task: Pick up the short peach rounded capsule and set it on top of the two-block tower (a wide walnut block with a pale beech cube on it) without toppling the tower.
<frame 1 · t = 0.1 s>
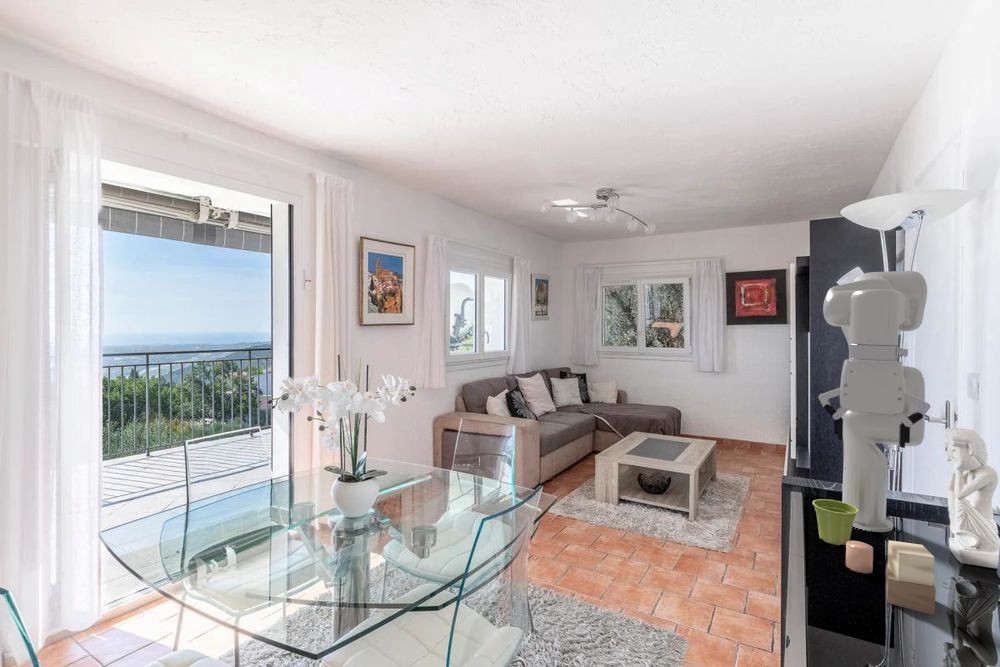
hand: (870, 442, 98), 31 cm above the table, tool pointing down, fingers open, 9 cm apart
beech block: (909, 576, 99), point 5 cm above the table, touching walnut block
plant pot: (833, 541, 125), on the table
peach rounded capsule: (858, 567, 112), on the table
walnut block: (909, 601, 99), on the table, touching beech block
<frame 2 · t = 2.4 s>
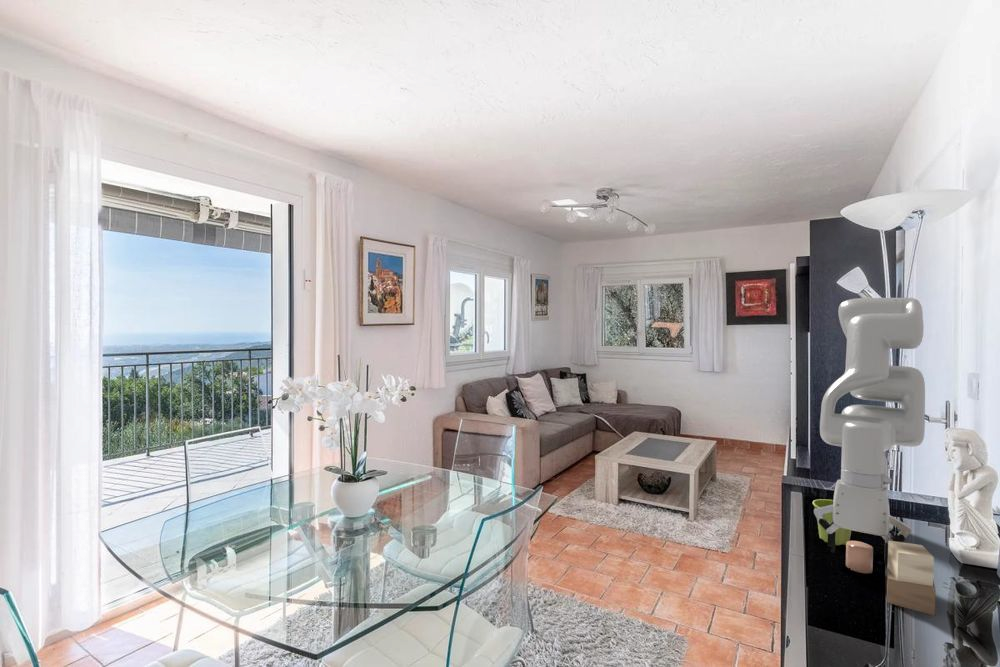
hand: (859, 556, 111), 3 cm above the table, tool pointing down, fingers open, 9 cm apart
nothing on the table moved.
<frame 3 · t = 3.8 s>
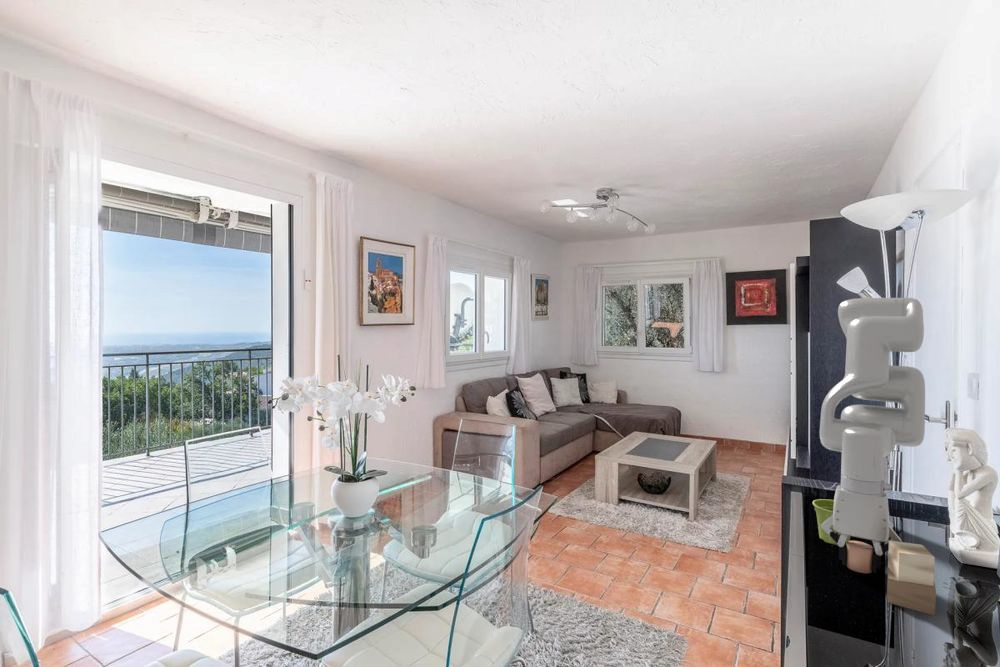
hand: (858, 565, 112), 0 cm above the table, tool pointing down, fingers closed on peach rounded capsule, 4 cm apart
peach rounded capsule: (858, 567, 112), on the table, touching gripper
everything else where it was.
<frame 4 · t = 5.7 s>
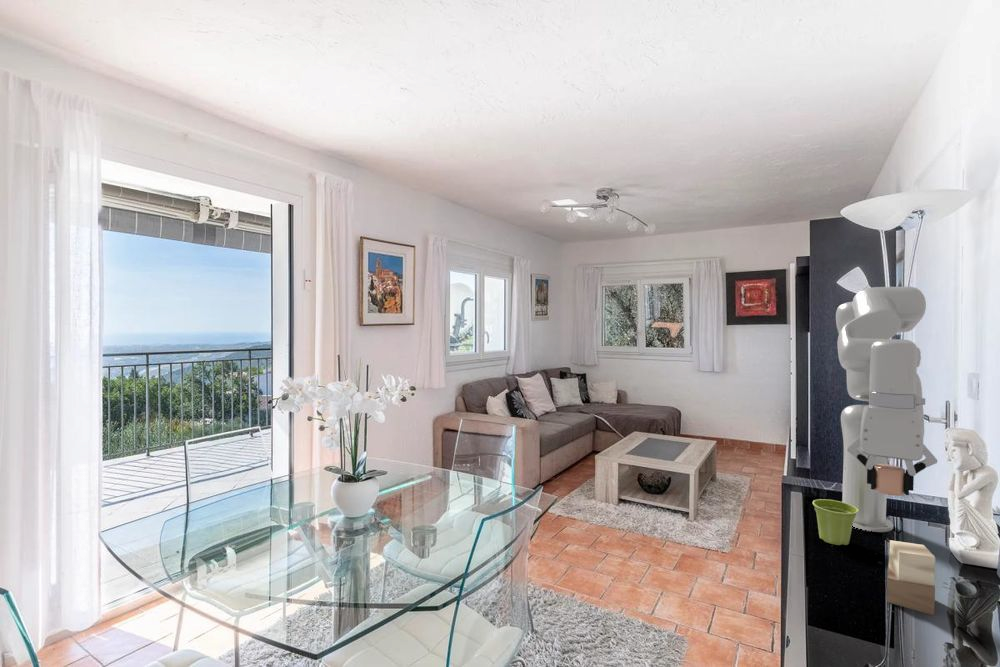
hand: (889, 489, 103), 20 cm above the table, tool pointing down, fingers closed on peach rounded capsule, 4 cm apart
peach rounded capsule: (889, 491, 103), point 20 cm above the table, touching gripper
everything else where it was.
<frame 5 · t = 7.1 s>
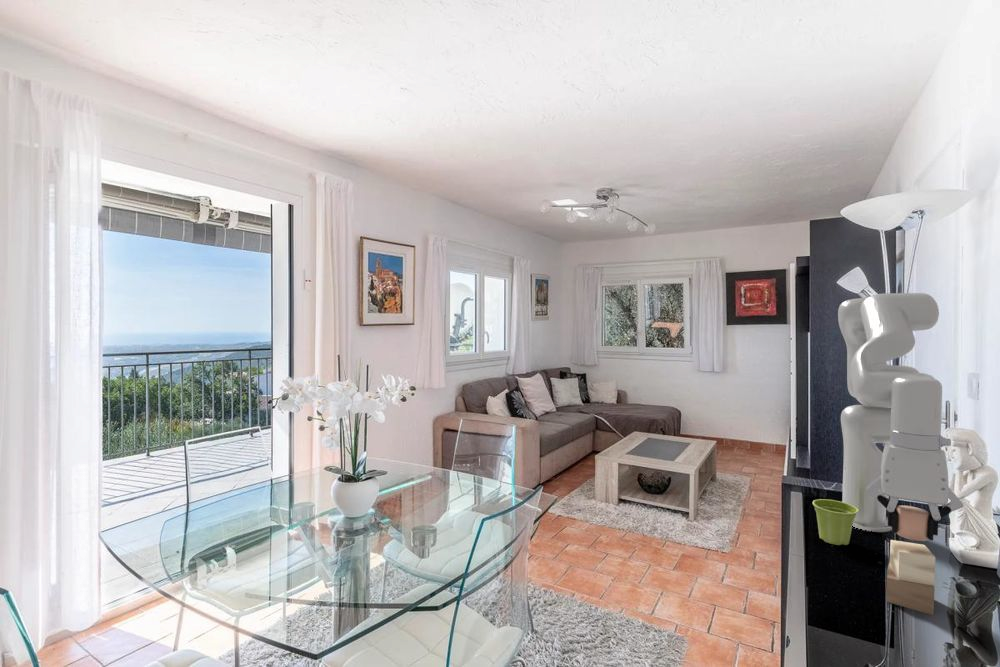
hand: (911, 533, 98), 13 cm above the table, tool pointing down, fingers closed on peach rounded capsule, 4 cm apart
beech block: (911, 575, 99), point 5 cm above the table
peach rounded capsule: (911, 535, 98), point 13 cm above the table, touching gripper
walnut block: (909, 600, 99), on the table
everything else where it was.
when the fingers open (12 cm above the table, at t = 8.1 s): peach rounded capsule drops 1 cm, resting on beech block.
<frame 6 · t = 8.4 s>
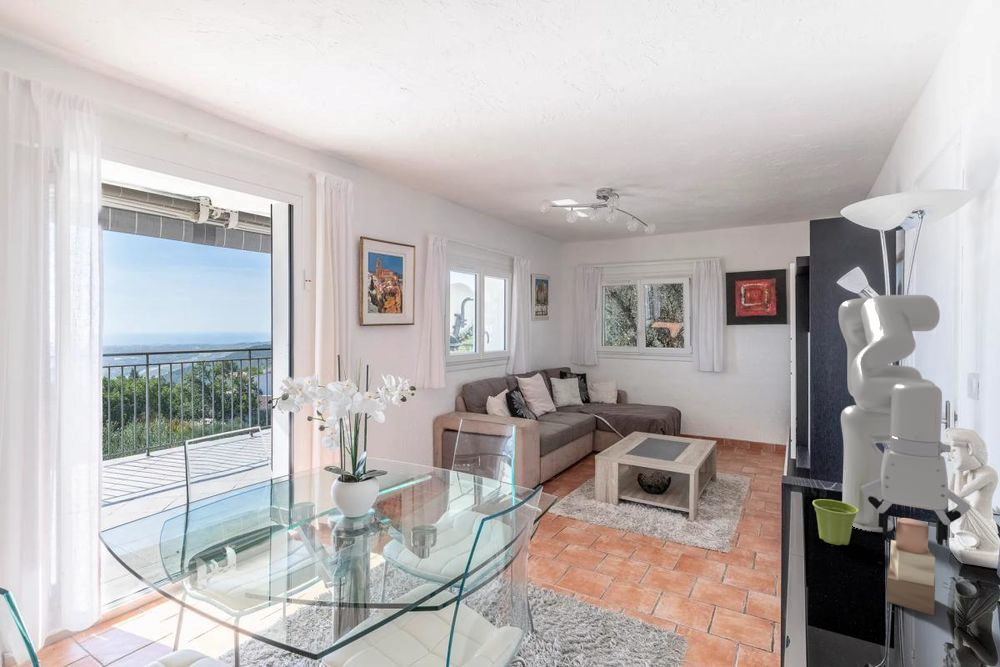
hand: (911, 536, 98), 13 cm above the table, tool pointing down, fingers open, 7 cm apart
beech block: (911, 576, 99), point 5 cm above the table, touching peach rounded capsule
peach rounded capsule: (911, 548, 99), point 10 cm above the table, touching beech block
everything else where it was.
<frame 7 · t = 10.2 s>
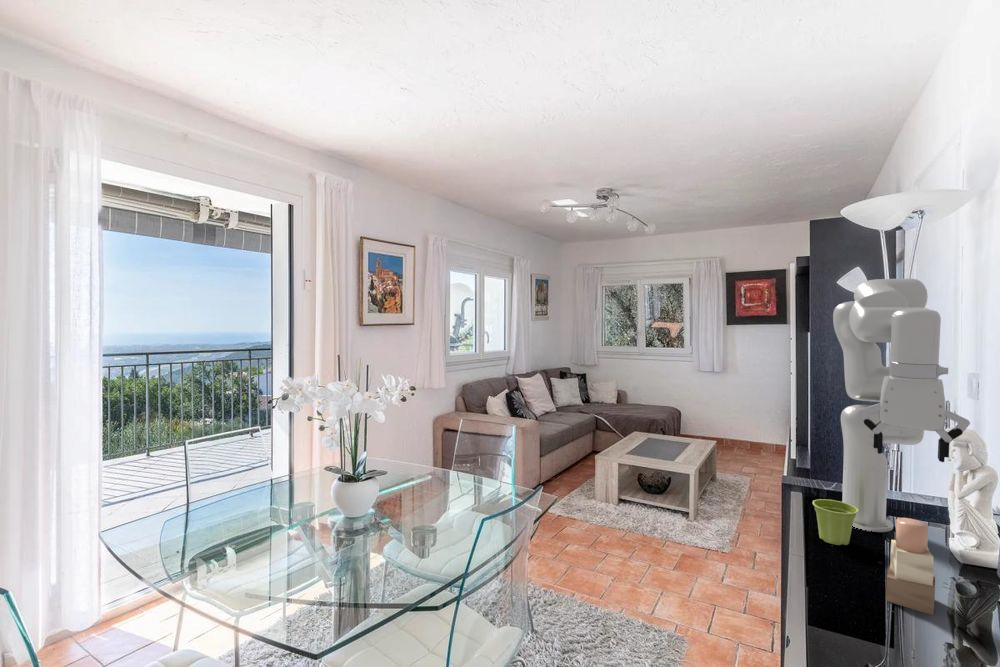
hand: (909, 456, 102), 27 cm above the table, tool pointing down, fingers open, 9 cm apart
beech block: (910, 575, 99), point 5 cm above the table, touching peach rounded capsule, walnut block
walnut block: (910, 601, 99), on the table, touching beech block
everything else where it was.
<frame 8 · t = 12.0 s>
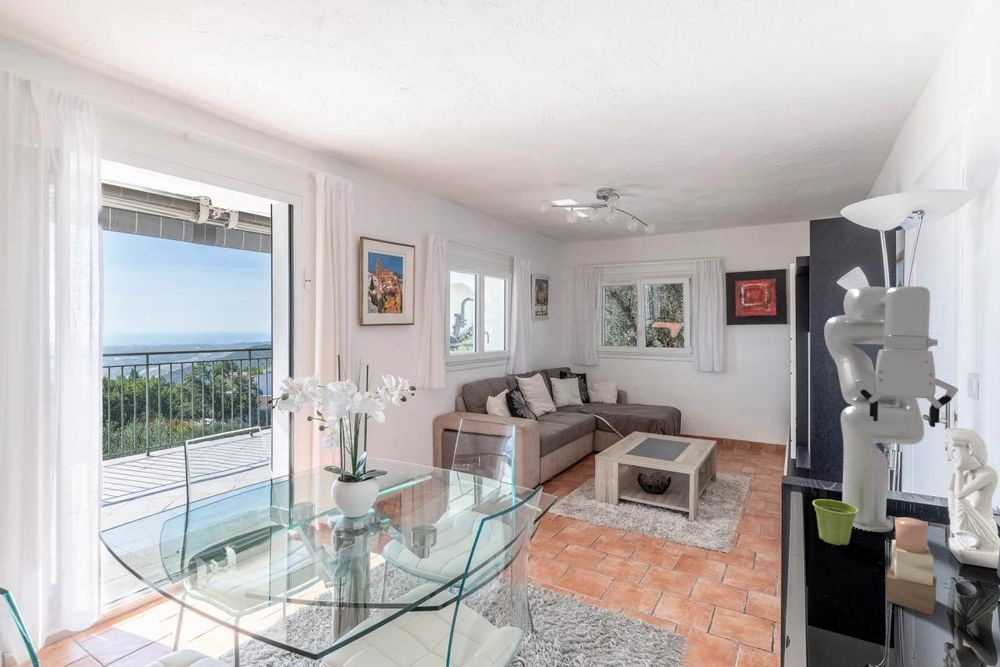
hand: (902, 423, 110), 32 cm above the table, tool pointing down, fingers open, 9 cm apart
nothing on the table moved.
at the end: peach rounded capsule 0.1 cm off-centre on the beech block, point 5.6 cm above the beech block's base; beech block tilted 1°; peach rounded capsule tilted 2° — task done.
